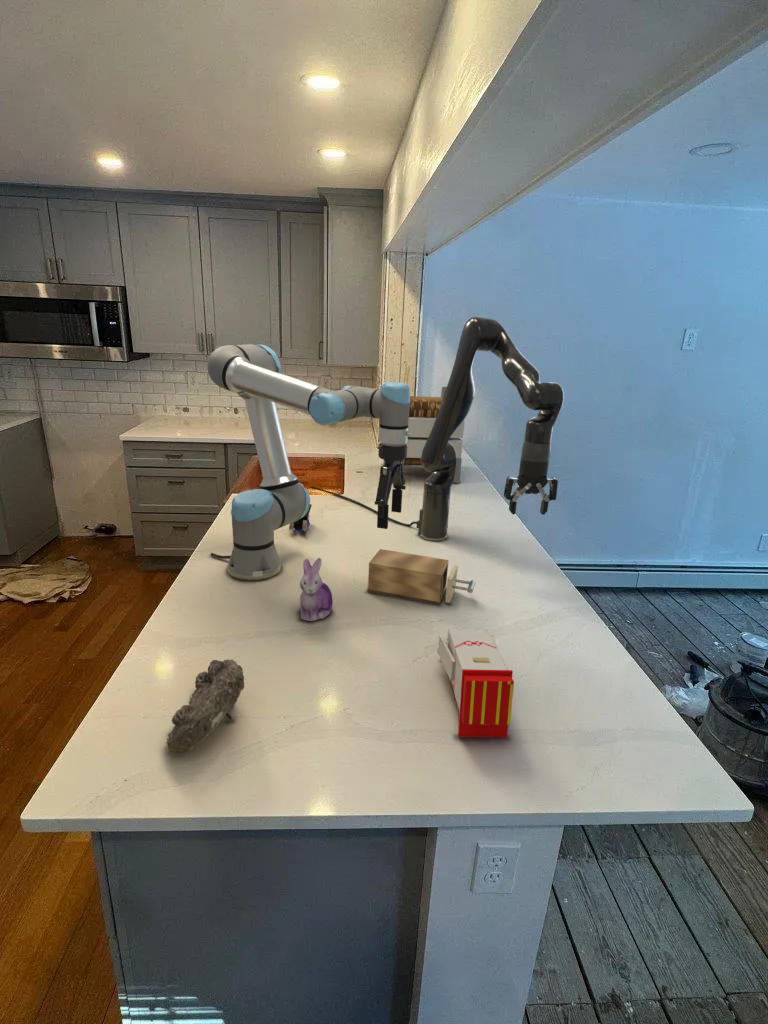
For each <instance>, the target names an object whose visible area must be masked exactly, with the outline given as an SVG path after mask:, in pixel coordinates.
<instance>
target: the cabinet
mask: <svg viewBox="0 0 768 1024" xmlns="http://www.w3.org/2000/svg"><path fill="white" fill-rule="evenodd" d="M449 560H450V559H443V558H439V557H438V558H437V557H432V556H426V555H421V554H420V555H419V554H413V553H409V552H408V553H407V552H403V551H402V552H401V551H395V550H390V549H389V550H388V549H383V548H380V549H379V550H378V551H377V552H376V554H375V555H374V556H373V557H372V558H371V560H370V561H369V562H368V578H367V579H368V580H367V593H371V594H374V595H375V594H376V595H382V596H386V597H392V598H397V599H402V600H409V601H414V602H419V603H425V604H431V605H436V606H440V603H441V601H442V598H443V597H444V594H445V593H446V590H447V587H446V588H445V590H444V593H443V595H442V597H441V599H440V591H441V580H442V575H443V573H444V571H445V569H446V567H447V566H448V567H449Z"/></svg>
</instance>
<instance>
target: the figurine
mask: <svg viewBox="0 0 768 1024" xmlns="http://www.w3.org/2000/svg"><path fill="white" fill-rule="evenodd" d="M302 566H303V567H302V568H303V575H302V576H301V579H300V582H299V586H300V587H299V588H300V589H301V591H302V592H301V594H300V596H299V604H300V619H302V620H304V621H307V622H308V621H309V622H315V621H317V620H322V619H324V618H327V616H329V615H330V614H331V613H332V611H333V610H332V609H333V594H332V591H331V588H330V587H329V585H328V584H326V583H325V582H323V579H322V577H321V576H320V570H321V566H322V558H321V557H318V558H317V559H316V560H315V561H314V563H313V564H312V565H311V563H310V561H309V559H308V558H305V559H304V560H303V565H302Z"/></svg>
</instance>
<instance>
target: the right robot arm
mask: <svg viewBox="0 0 768 1024" xmlns="http://www.w3.org/2000/svg"><path fill="white" fill-rule="evenodd" d="M477 351H479V352H490V353H491V354H494V355H495V356H496V357H498V358H499V360H500V361H501V362H500V363H501V364H500V365H501V369H502V372H503V374H504V376H505V377H506V379H507V380H508V381H509V382H510V383H511V384H512V385H513V386H514V387H515V388H516V390H517V393H518V395H519V397H520V399H521V402H522V403H523V405H524V406H525V407H526V408H527V409H529V410H532V411H538V414H537V415H535V416H534V417H532V418H530V419H528V420H527V421H526V424H525V429H524V430H525V431H524V437H523V438H524V439H523V443H522V444H523V445H522V448H521V454H520V460H519V461H520V462H519V470H518V476H517V477H511V476H507V477H506V480H505V485H504V490H503V498H505V499H506V500H508V501H509V506H508V511H509V512H510V514H511V515H516V511H517V504H518V502H517V501H518V499H520V497H522V496H524V495H530V494H533V495H538V494H539V495H540V497H541V498H542V499H541V502H540V509H539V513H540V514H541V515H546V513H548V508H549V504H550V502H551V501H556V500H557V497H558V495H557V494H558V484H559V481H558V479H557V478H555V477H554V476H551V477H550V478H548V477H547V476H548V471H549V466H550V465H549V464H550V459H551V451H552V446H551V445H552V439H553V438H552V437H553V431H554V430H553V429H554V426H555V424H556V422H557V419H558V418H559V414H560V412H561V410H562V408H563V404H564V401H565V396H564V395H565V393H564V389H563V387H562V386H561V385H560V384H559V383H557V382H554V381H553V382H552V381H551V382H550V381H549V382H540V378H541V375H540V372H539V370H538V369H537V368H536V367H535V366H534V365H533V364H532V363H531V362H530V361H529V360H528V359H527V358H526V357H525V356H524V355H523V354H522V352H520V351H519V349H518V347H517V346H516V345H515V343H514V342H513V341H512V339H511V337H510V336H509V334H508V333H507V331H506V329H505V328H504V327H503V325H502V324H501V323H500V322H499V321H498V320H496V319H493V318H486V317H478V316H472V317H470V318H468V319H467V321H466V322H465V324H464V325H463V328H462V330H461V333H460V338H459V343H458V346H457V351H456V355H455V359H454V363H453V367H452V369H451V373H450V375H449V379H448V382H447V385H446V386H445V387H446V390H445V393H444V396H443V399H442V402H441V406H440V409H439V412H438V414H437V417H436V420H435V423H434V425H433V428H432V430H431V433H430V435H429V437H428V439H427V441H426V444H425V446H424V448H423V451H422V454H421V463H422V466H421V467H422V468H423V470H424V471H426V472H428V473H431V474H430V475H429V476H428V477H427V478H426V479H425V480H424V482H423V493H422V496H423V497H422V506H421V508H420V509H419V516H418V520H417V521H412V522H411V523H404V522H401V521H398V520H397V519H394V518H391V517H389V516H388V521H391V522H392V523H395V524H398V525H401V526H405V527H412V526H413V525H416V528H415V529H418V530H417V535H418V536H420V538H421V539H424V540H426V541H432V542H440V541H444V540H446V539H447V538H448V529H449V517H450V516H449V514H450V504H451V494H452V493H451V491H452V486H453V484H454V483H453V482H454V477H455V470H456V462H457V455H456V450H455V448H454V447H453V445H452V444H450V443H448V441H449V439H450V437H451V435H452V434H453V433H454V431H455V430H456V429H457V428H458V426H459V425H460V424H461V423H462V422H463V420H465V419H466V418H467V416H468V414H469V413H470V410H471V407H472V404H473V401H474V399H475V396H476V395H475V394H476V388H475V381H474V377H473V365H474V360H475V358H476V357H475V356H476V354H477ZM515 484H517V486H516V488H514V491H513V487H514V486H515ZM547 485H548V486H549V491H548V494H547V492H546V491H545V489H544V488H545V487H546V486H547ZM309 488H310V489H313V490H317V491H319V492H324V493H327V494H330V495H334V496H336V497H339V498H342V499H345V500H347V501H350V502H352V503H355V504H357V505H360V506H361V507H363V508H365V509H367V510H369V511H371V512H373V513H375V514H376V515H378V510H375V509H374V508H372V507H370V506H368V505H365V504H364V503H361V502H359V501H357V500H354V499H352V498H350V497H347V496H345V495H342V494H339V493H336V492H332V491H329V490H326V489H322V488H319V487H317V486H313V485H310V487H309ZM512 491H513V492H512Z"/></svg>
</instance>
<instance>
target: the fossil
mask: <svg viewBox="0 0 768 1024" xmlns="http://www.w3.org/2000/svg"><path fill="white" fill-rule="evenodd" d="M243 670H244V669H243V667H242V665H240V664H237V662H236V661H235V660H234V659H232V658H231V659H227V658H226V659H224V660H223V661H222V660H217V659H212V660H211V661H210V663H209V665H208V666H207V671H201V672H199V673H198V674H197V675H196V676H195V680H194V684H195V685H194V687H195V689H194V690H193V693H192V694H191V697H190V698H189V700H188V704H184V705H182V706H181V707H180V709H177V710H176V711H175V713H174V715H173V716H172V718H171V723H172V724H173V727H172V730H171V731H170V732H168V734H167V738H166V741H167V742H166V745H167V749H168V750H169V751H173V752H174V753H176V754H178V753H182V752H188V751H189V752H192V751H193V750H195V748H196V747H197V746H199V744H200V743H201V742H203V741H204V740H205V739H206V738H207V737H208V736H209V735H210V734H211V733H212V732H214V730H215V729H217V727H218V726H219V724H220V722H221V721H222V720H223V719H224V718H225V716H226V717H227V719H229V720H233V717H232V715H230V714H229V710H230V709H231V708H234V706H235V704H236V703H237V702H238V699H239V697H240V695H241V693H242V691H243V690H245V689H244V688H245V675H244V671H243Z"/></svg>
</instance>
